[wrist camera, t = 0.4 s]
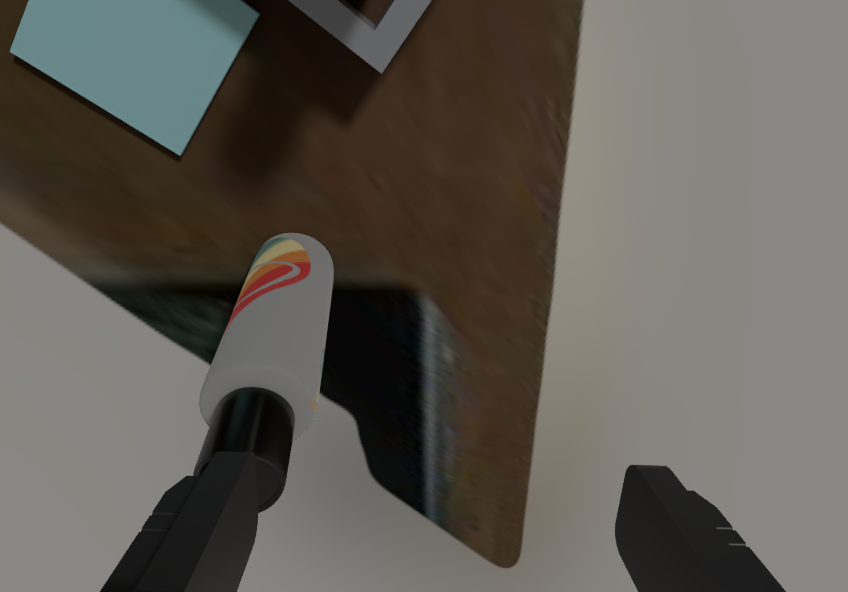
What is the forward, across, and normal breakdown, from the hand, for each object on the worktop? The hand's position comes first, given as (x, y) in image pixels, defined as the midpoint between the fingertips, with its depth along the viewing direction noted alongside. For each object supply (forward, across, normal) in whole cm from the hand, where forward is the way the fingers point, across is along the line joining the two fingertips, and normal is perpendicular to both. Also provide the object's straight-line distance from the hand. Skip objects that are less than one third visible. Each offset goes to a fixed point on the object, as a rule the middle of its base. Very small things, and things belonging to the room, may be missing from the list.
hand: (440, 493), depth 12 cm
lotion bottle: (+29, +9, +3) cm, 30 cm away
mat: (+25, +17, -12) cm, 32 cm away
